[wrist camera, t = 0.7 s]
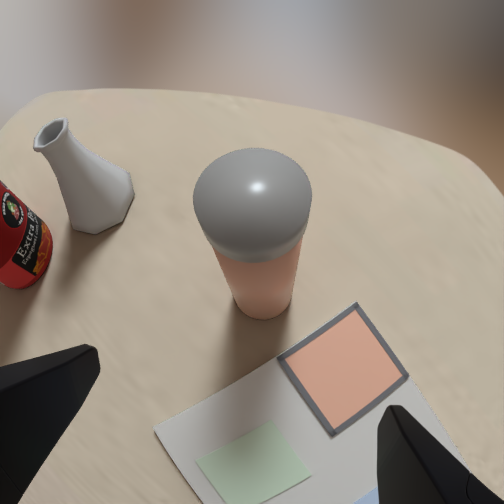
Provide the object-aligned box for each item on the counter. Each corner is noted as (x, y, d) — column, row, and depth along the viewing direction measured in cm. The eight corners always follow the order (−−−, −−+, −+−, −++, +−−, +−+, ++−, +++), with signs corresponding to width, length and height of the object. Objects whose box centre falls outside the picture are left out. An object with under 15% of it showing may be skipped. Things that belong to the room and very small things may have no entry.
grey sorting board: (299, 600, 12) (301, 619, 9) (154, 426, 19) (137, 431, 16) (475, 484, 15) (495, 490, 12) (353, 302, 22) (364, 290, 19)
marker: (253, 332, 22) (231, 270, 10) (221, 283, 23) (174, 181, 12) (305, 299, 22) (336, 205, 11) (271, 252, 24) (267, 133, 13)
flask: (132, 230, 26) (75, 157, 17) (66, 240, 26) (1, 181, 17) (139, 165, 29) (100, 89, 20) (79, 179, 29) (31, 115, 20)
